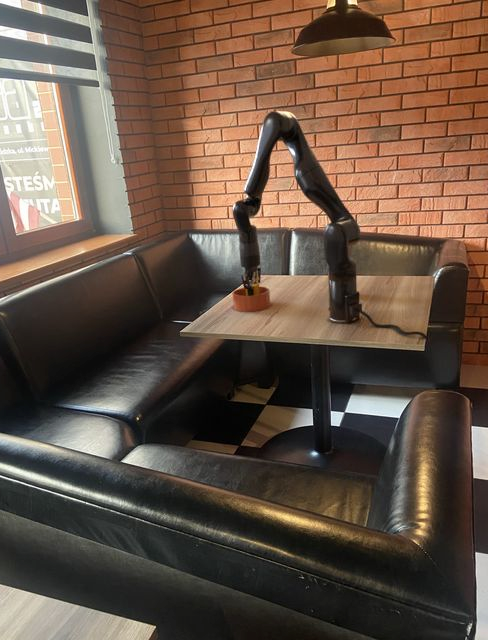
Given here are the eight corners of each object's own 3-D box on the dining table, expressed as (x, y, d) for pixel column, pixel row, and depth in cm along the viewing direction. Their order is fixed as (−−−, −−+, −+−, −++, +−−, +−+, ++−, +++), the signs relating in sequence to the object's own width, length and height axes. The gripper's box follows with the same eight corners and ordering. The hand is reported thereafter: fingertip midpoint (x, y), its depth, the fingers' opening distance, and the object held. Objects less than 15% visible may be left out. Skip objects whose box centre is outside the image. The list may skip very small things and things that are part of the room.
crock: (277, 304, 208) (276, 289, 205) (250, 313, 199) (249, 298, 197) (253, 299, 218) (252, 284, 216) (226, 307, 210) (225, 293, 208)
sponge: (260, 301, 210) (258, 283, 208) (256, 304, 207) (254, 286, 204) (251, 300, 212) (249, 283, 210) (247, 303, 209) (245, 286, 206)
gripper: (251, 257, 195) (255, 302, 201) (265, 249, 207) (269, 292, 213) (232, 257, 198) (237, 301, 204) (248, 249, 210) (252, 291, 216)
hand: (253, 296), depth 209 cm, fingers closed on sponge, 4 cm apart
